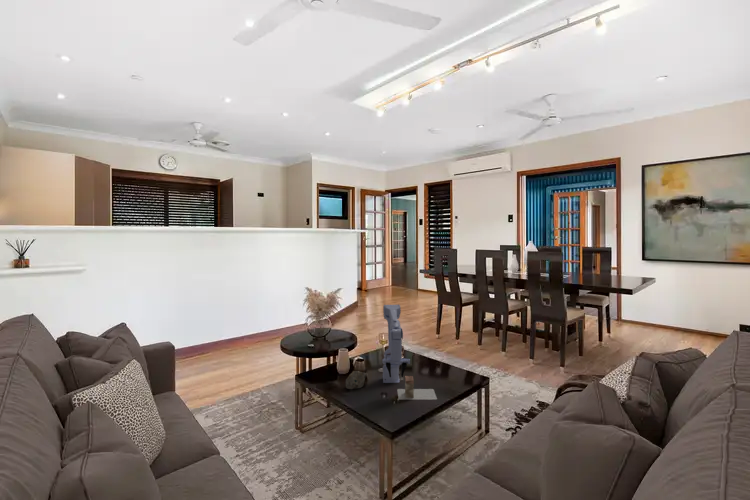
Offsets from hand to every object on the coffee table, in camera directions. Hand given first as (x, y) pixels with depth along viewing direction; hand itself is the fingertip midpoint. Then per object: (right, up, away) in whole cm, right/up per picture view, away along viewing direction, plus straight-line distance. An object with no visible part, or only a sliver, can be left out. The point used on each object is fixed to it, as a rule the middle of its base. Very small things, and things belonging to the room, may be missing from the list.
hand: (396, 376), depth 191 cm
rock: (-21, -10, +12) cm, 26 cm away
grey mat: (+11, -10, +2) cm, 15 cm away
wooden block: (+7, -10, +1) cm, 12 cm away
